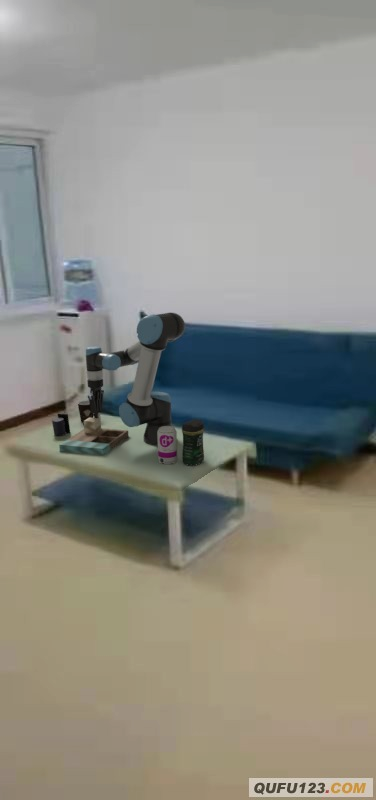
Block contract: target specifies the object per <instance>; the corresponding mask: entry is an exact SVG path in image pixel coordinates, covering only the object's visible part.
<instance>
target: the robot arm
mask: <svg viewBox="0 0 376 800" xmlns="http://www.w3.org/2000/svg"><path fill="white" fill-rule="evenodd" d="M185 330H186V322H185V320H184V318H183V317H182V316H181V315H180V314H178V313H176V312H165V313H158V314H150V315H147V316H143V317H142V318H141V319H140V320H139V321H138V323H137V326H136V334H137V339H138V340H137V341H136V342H135V343H134V344H132V345H130V346H129V347H127V348H126V349H123V350H118V351H114V352H108V353H107V352H103V351H102V350H103V349H102V347H100V346H88V347H87V348H85V362H86V378H87V382H86V383H87V387H88V388H89V389H90V390H89V391H90V392H89V395H87V398H88V401H89V403H90V408H91V413H94V416H93V418H101V413H103V407H104V406H103V405H104V393H105V391H104V389H102V387H104V379H103V378H104V373H103V372H104V371H103V370H106V371H112V372H113V371H117V370H118V369H120V368H122V367H127V366H133V365H136V364H137V367H136V371H135V377H134V380H133V385H132V389H131V392H129V393H128V394H127V395H126V401H125V402H123V403H121V404H120V405H119V408H118V414H119V415H118V416H119V417H120V419H121V421H122V423H123V424H124V425H125V426H127V427H129V428H135V427H139V426H142V425H145V424H146V427H145V430H144V433H143V442H145V443H146V444H150V445H158V437H157V432H158V429H159V428H160V427H162V426H173V425H172V401H171V395H170V394H169V393H168V392H162V391H153V387H154V385H155V379H156V375H157V371H158V366H159V362H160V358H161V355H162V351H165V350H166V349H167V345H168V343H172V342H174V341H175V340H177V339H179V338H180V337H182V335H184V332H185ZM101 419H102V418H101Z"/></svg>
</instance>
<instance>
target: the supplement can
mask: <svg viewBox="0 0 376 800" xmlns="http://www.w3.org/2000/svg"><path fill="white" fill-rule="evenodd" d="M177 431H178V430H176V427H175V426H173V425H172V426H162V427H160V428H159V429H158V432H157V437H158V444H157V459H158V460H157V461H158V462H159V463H160V464H162V463H164V464H163V465H172V464H171V463H173V464H175V463H176V462H177V461H178V441H177V440H178V436H177V435H178V434H177V433H178V432H177ZM174 462H175V463H174Z"/></svg>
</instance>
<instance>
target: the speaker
mask: <svg viewBox="0 0 376 800" xmlns="http://www.w3.org/2000/svg"><path fill="white" fill-rule="evenodd" d="M69 419H70V418H69V414H68V413H59V412H58V413H57V416H55V417H53V418H51V423H52V428H53V429H52V430H53V434H54V436H56V437H61V436H64V435H66V434H71V427H70V422H69V421H70V420H69Z"/></svg>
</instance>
